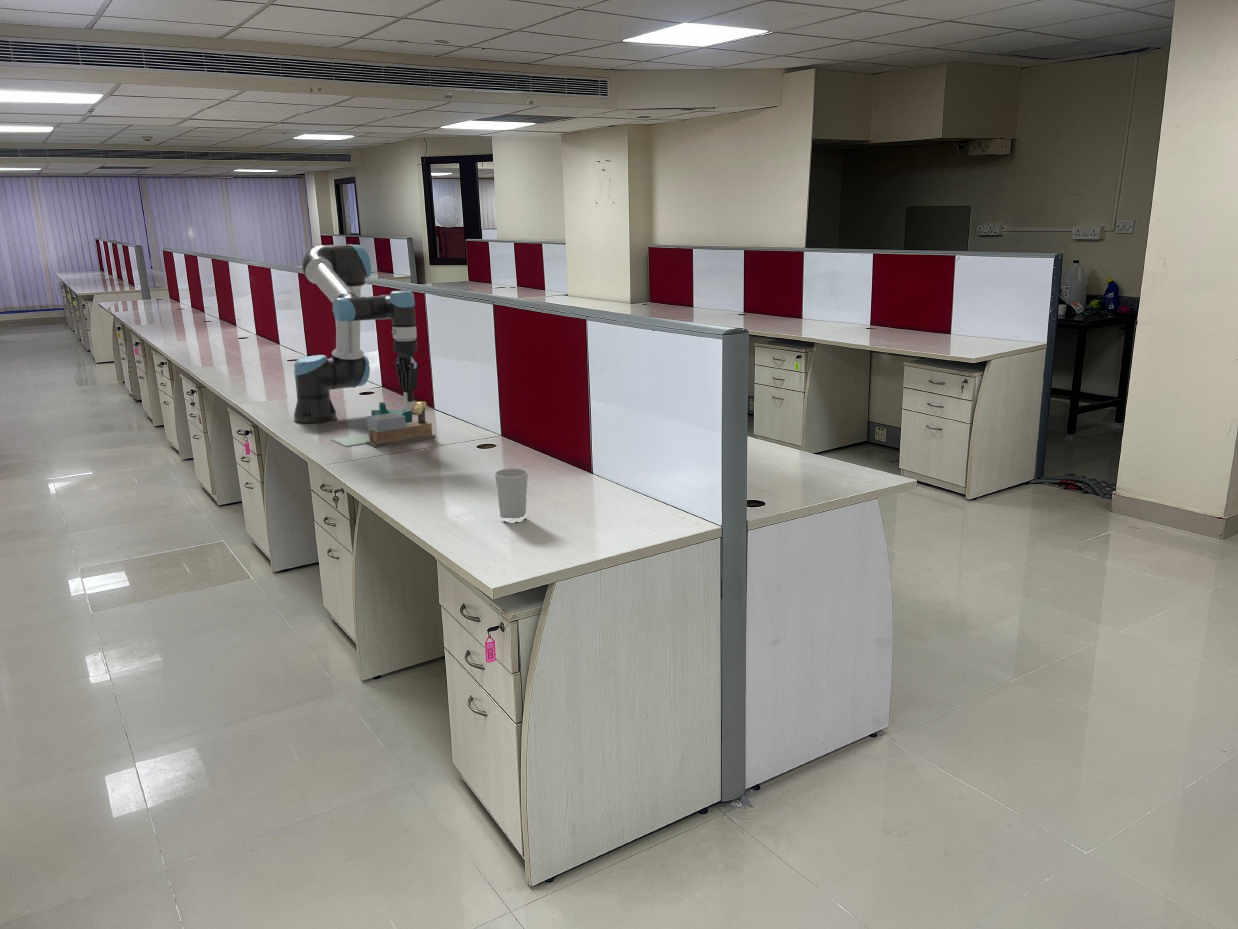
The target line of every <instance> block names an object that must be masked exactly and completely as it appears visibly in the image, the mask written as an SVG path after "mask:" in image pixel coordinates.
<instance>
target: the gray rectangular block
mask: <svg viewBox="0 0 1238 929" xmlns="http://www.w3.org/2000/svg"><path fill="white" fill-rule="evenodd" d="M366 427H367V428H366V429H368V430H369V429H370V430H373V431H375V432H384V431H390V430H397V429H403V428H406V421H405V416H403V415H400V414H397V413H387V414H381V415H374V416H371V415H368V416H366Z"/></svg>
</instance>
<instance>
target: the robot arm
mask: <svg viewBox="0 0 1238 929" xmlns="http://www.w3.org/2000/svg"><path fill="white" fill-rule="evenodd" d="M301 269H302V272H303V275H304V276H305V278H306V279H307V280H308V281H309V282H310V283H312V284H314V285H316V286H317V287H318V288H319V289H320V291H321V292H322V293H323V294H324V295H325V296H326V298H328V300H329V301H330V302H331V304H332V314H333V315H334V318H335V328H336V329H335V349H333V350H332V351H331V357H330V358H328V357H327V356H326V355H324V354H316V355H310V356H304V357H302V358H299V359H296V361H295V362H294V364H293V365H294V367H293V369H294V370H293V371H294V372H293V374H294V380H295V390H296V404H295V408H294V412H293V419H294V421H295V422H296V423H301V424H316V423H318V424H320V423H326V422H331V421H333V420H336V419H337V417H338V415H337V411H336V408H335V406H334V403H333V402H332V399H331V394H330V392H331V391H330V390H340V389H351V388H353V389H354V388H357V387H362V386H365V385H366V384H367V383H368V381H369V378H370V372H371V365H370V360H369V358H368V357H367V356H366V355H365V352H364V351H363V350H361V321H375V320H389V319H391V327H392V330H391V334H392V338H393V341H392V345H393V346H392V347H393V351H394V352H395V353H397V358H395V359H394V360H393V361H394V366H395V367H396V374H397V379H398V385H399V386H398V387H399V389H401V390H402V392H403V404H404V407H403V408H405V411H406V412H409V411H412V412H413V410H412V409H413V408H415V402H414V399H415V398H414V392H415V391H417V389H418V372H419V367H420V363H419V362H417V361H416V360H415V355H414V354H415V353H416V352H417V351H418V340H416V339H417V337H418V336H417V324H416V323H417V322H416V321H417V320H416V302H415V295H414V292H413V291H412V290H393V291H391V292H390V294H381V295H375V296H374V295H372V296H362V291H361V289H362V287H363V286H365V284H366V279H368V278H370V277H371V274H372V263H371V259H370V256H369V252H368V250H366V248H365V247H364V246H362V245H360V244H352V243H350V244H329V245H328V244H327V245H326V244H324V245H323V244H322V245H321V244H320V245H317V246H316V245H315V246H314V247H312V248H311V249H310V250H308V251H307V252H306V254H305V255H304V256H303V259H302V263H301Z"/></svg>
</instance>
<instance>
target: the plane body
mask: <svg viewBox="0 0 1238 929" xmlns="http://www.w3.org/2000/svg"><path fill="white" fill-rule="evenodd" d="M417 419H418V420H416V421H412V422H409V423H406V428H403V429H397V430H390V431H384V432H375V431H373V430H370V429H368V435H369V439H370V441H366V444H365V445H367V446H368V445H369V446H371V447H374V448H380V447H386V446H393V445H398V444H405V443H411V442H417V441H423V440H427V439H428V440H429V439H433V438H434V439H435V438H436V437H437V436H436V434H435V433H433V426H432V422H429V421H427V420H426V409H423V410H422V412H421V414H420V415H417Z"/></svg>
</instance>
